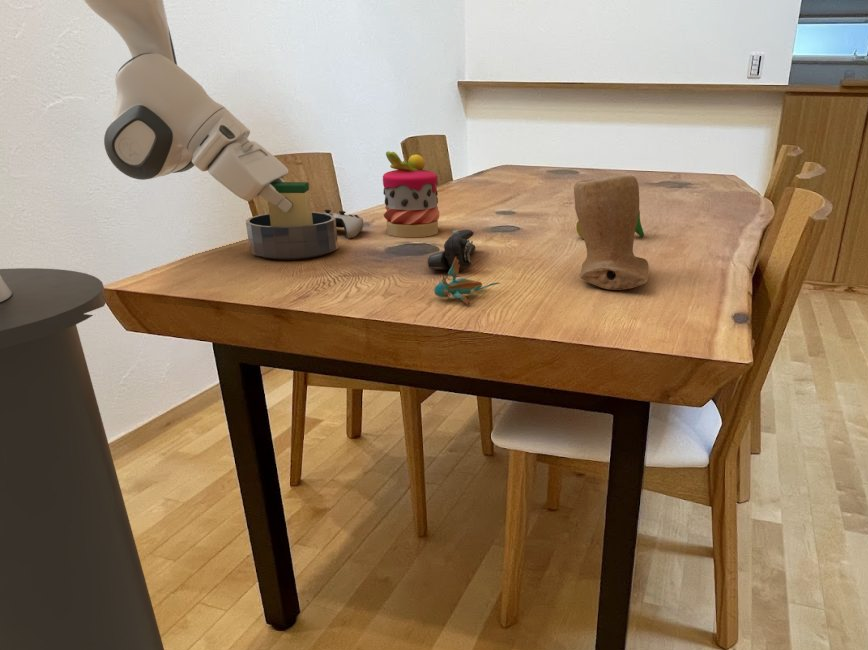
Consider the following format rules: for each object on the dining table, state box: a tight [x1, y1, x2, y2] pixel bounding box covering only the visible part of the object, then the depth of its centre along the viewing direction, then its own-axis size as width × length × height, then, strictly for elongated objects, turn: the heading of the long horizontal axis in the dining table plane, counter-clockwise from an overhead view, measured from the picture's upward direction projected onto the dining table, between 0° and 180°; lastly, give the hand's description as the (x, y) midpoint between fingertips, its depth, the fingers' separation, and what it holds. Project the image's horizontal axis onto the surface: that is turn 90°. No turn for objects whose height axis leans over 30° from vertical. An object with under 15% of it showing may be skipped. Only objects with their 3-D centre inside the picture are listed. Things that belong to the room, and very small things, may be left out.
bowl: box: [245, 211, 339, 261], centre depth 111 cm, size 14×14×6 cm
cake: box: [382, 151, 440, 238], centre depth 126 cm, size 10×11×15 cm
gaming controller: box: [323, 209, 364, 239], centre depth 126 cm, size 11×6×7 cm
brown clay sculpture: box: [573, 174, 650, 291], centre depth 96 cm, size 15×12×15 cm
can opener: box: [427, 229, 477, 271], centre depth 106 cm, size 18×7×6 cm, turn 171°
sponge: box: [267, 181, 313, 227], centre depth 109 cm, size 6×4×8 cm, turn 95°
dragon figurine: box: [433, 257, 500, 305], centre depth 89 cm, size 6×7×8 cm
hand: (293, 206), depth 109 cm, fingers closed on sponge, 4 cm apart
